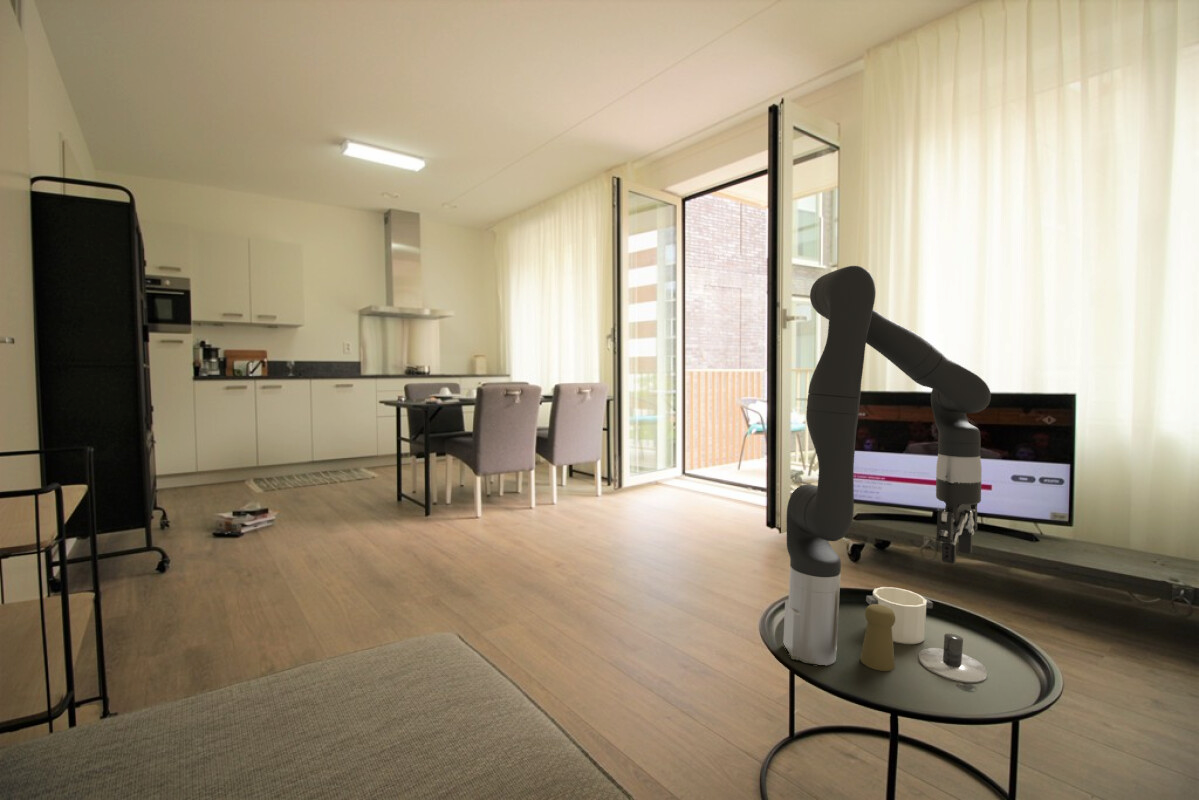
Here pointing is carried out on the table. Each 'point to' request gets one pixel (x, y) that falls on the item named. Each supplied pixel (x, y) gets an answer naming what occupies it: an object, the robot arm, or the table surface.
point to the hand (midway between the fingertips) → (957, 557)
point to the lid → (953, 661)
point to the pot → (904, 612)
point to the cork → (878, 638)
